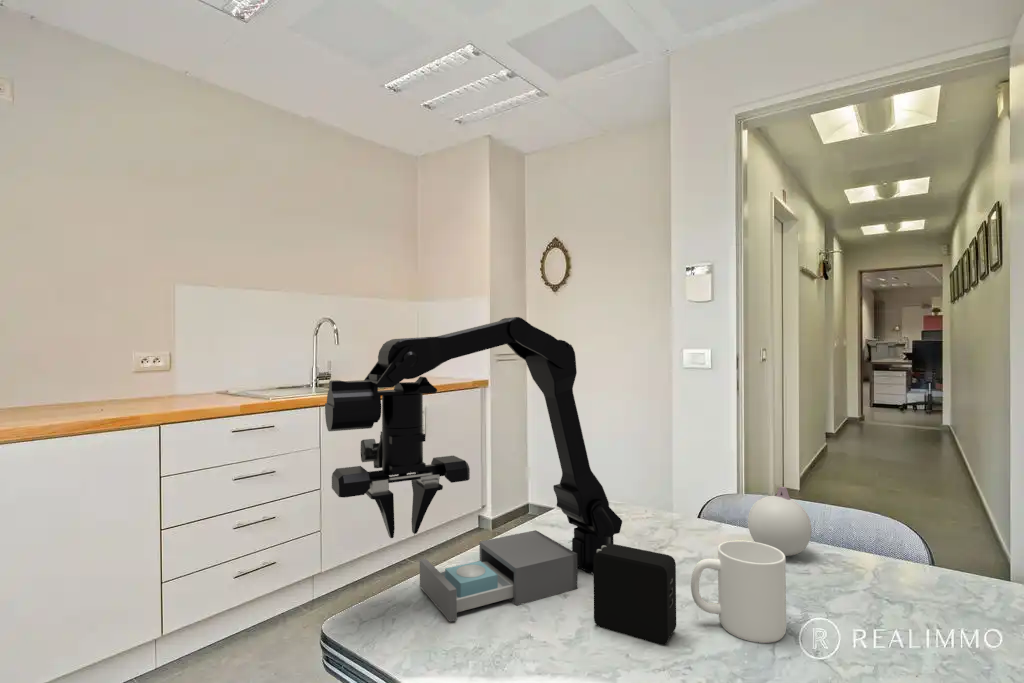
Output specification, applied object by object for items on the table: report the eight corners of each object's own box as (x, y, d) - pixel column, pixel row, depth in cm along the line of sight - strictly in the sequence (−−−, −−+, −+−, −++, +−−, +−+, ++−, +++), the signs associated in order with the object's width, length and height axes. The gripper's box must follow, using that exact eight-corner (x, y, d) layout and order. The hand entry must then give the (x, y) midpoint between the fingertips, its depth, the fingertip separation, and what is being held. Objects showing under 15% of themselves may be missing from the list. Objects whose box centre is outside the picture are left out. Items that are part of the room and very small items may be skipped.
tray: (483, 571, 89) (483, 546, 89) (520, 602, 78) (520, 573, 78) (419, 586, 84) (419, 559, 84) (449, 621, 73) (449, 590, 73)
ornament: (813, 550, 98) (812, 484, 98) (809, 569, 90) (808, 498, 90) (753, 539, 104) (752, 477, 104) (744, 557, 95) (743, 489, 95)
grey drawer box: (536, 560, 94) (535, 530, 94) (577, 588, 83) (577, 553, 83) (479, 574, 89) (479, 541, 89) (516, 605, 78) (516, 568, 78)
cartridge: (480, 575, 85) (480, 559, 85) (497, 590, 80) (497, 573, 80) (445, 584, 82) (445, 567, 82) (460, 600, 77) (460, 582, 77)
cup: (797, 646, 67) (796, 565, 67) (698, 640, 68) (697, 561, 68) (772, 613, 75) (771, 541, 75) (684, 609, 77) (684, 538, 77)
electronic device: (667, 647, 67) (666, 567, 67) (593, 625, 72) (593, 551, 72) (676, 632, 70) (675, 556, 71) (605, 612, 76) (604, 541, 76)
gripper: (442, 415, 88) (443, 510, 88) (324, 423, 79) (324, 529, 79) (470, 423, 78) (471, 530, 78) (339, 434, 69) (340, 555, 69)
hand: (402, 535), depth 76 cm, fingers open, 3 cm apart
